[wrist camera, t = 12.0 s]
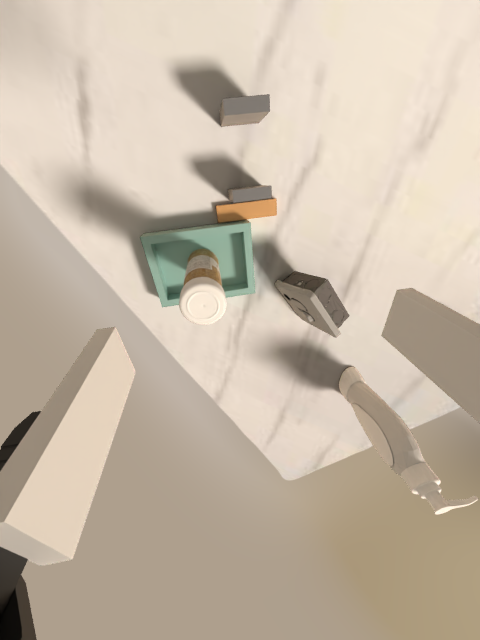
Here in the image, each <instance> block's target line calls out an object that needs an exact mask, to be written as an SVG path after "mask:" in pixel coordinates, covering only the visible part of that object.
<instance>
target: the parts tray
mask: <svg viewBox="0 0 480 640" xmlns="http://www.w3.org/2000/svg"><path fill="white" fill-rule="evenodd" d="M140 239H141V242H142V245H143V248H144V251H145V255H146V258H147V261H148V264H149V267H150V270H151V273H152V276H153V280H154V283H155V286H156V289H157V292H158V295H159V298H160V301H161V304H162V307H168V306H174V305H179V299H180V293H181V290H182V288H183V286H184V278H185V273H186V269H187V262H188V258H189V256H190V254H191V253H192V252H193V251H195V250H198V249H207V250H210V251H211V252H213V253H214V254H215V255H216V257H217V259H218V262H219V270H220V275H221V282H222V288H223V290H224V292H225V296H226V298H227V297H233V296H240V295H246V294H253V293H255V281H254V267H253V252H252V238H251V223H250V222H249V221H248V220H243V221H235V222H227V223H220V224H212V225H204V226H197V227H189V228H181V229H174V230H166V231H158V232H151V233H144V234H143V235H142V236H141V237H140Z"/></svg>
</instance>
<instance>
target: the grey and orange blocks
mask: <svg viewBox="0 0 480 640" xmlns="http://www.w3.org/2000/svg"><path fill="white" fill-rule="evenodd" d="M269 112H270V98H269V94H267V95H257V96H246V97H235V98H224V99H223V100H222V104H221V108H220V112H219V114H220V123H221V127H223V126H233V125H243V124H253V123H259V122H260V121H261V120H262V119H263V118H264V117H265V116H266V115H267V114H268V113H269ZM228 195H229V200H230V201H231V202H233V203H235V204H226V205H218V206H216V210H217V217H218V223H221V222H228V221H236V220H244V219H251V218H259V217H267V216H275V215H277V203H276V199H268V198H272V190H271V186H265V185H260V186H252V187H243V188H235V189H228ZM260 199H267V200H260ZM252 200H259V201H252ZM244 201H251V202H244ZM236 202H243V203H236Z"/></svg>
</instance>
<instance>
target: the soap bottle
mask: <svg viewBox="0 0 480 640" xmlns="http://www.w3.org/2000/svg"><path fill="white" fill-rule="evenodd" d="M339 389H340V392H341V393H342V395H343V396H344V398H345V399H346V400H347V401H348V402H349V403H351V405H352V407H353V409H354V412H355V414H356V416H357V418H358V420H359V422H360V424H361V426H362V427H363V429H364V431H365V433H366V434H367V436H368V438H369V440H370V441H371V443H372V445H373V446H374V448H375V449H376V451H377V452H378V453H379V455H380V456H381V458H382V459H383V460H384V461H385V462H386V463H387V464H388V465H389V466H390V467H391V468H392V469H393V470H394V471H395V473H396V474H398V475H400V476H401V477H402V478H403V480H404V481H405V483H406V484H407V486H408V487H409V489H410V490H411V491H412V493H414V494H419V495H420V497H421V498H424V499H427V501H428V502H429V503H430V505H431V506H432V508H433V509H434V511H435V512H434V513H435V514H441V513H445V512H447V511H449V510H450V509H453V508H458V507H463V506H468V505H470V504H472V503H473V502H475V501H477V500H478V498H477V497H476V496H473V497H471V498H468V499H465V500H447V501H446V500H445V499H444V497H443V496H442V495H441V494H440V492H441V488H440V487H439V486H438V485H439V484H440V482H441V481H440V479H439V478H438V477H437V476H436V474H435V473H434V472H433V471H432V469H431V468H430V467H429V466H428V465H427V464H426V462H425V460H424V458H423V456H422V453H421V451H420V447H419V445H418V443H417V441H416V439H415V437H414V436H413V434H412V432H411V431H410V430H409V428H408V427H407V425H406V424H405V423H404V421H403V420H402V419H401V418H400V417H399V416H398V414H397V413H396V412H395V411H394V410H393V409H391V408H390V407H389V406H388V405H387V403H386V402H385V401H383V400H382V399H381V398H380V397H379V396H378V395H377V394H376V393H375V392H374V391H373V390H372V389H371V388H370V387H369V386H368V385H367V384H366V383H365V381H364V379H363V377H362V376H361V374H360V373H359V371H358V370H357V369H356V368H354V367H349V368H347V369H346V370H345V371H344V372H343V373H342V375H341V378H340V381H339Z"/></svg>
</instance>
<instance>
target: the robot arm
mask: <svg viewBox="0 0 480 640" xmlns="http://www.w3.org/2000/svg"><path fill="white" fill-rule="evenodd" d="M381 336H382V337H384V338H385V339H386V340H387V341H388V342H389V343H390V344H391V345H392V346H394V347H395V348H396V349H397V350H398V351H399V352H400V353H401V354H403V355H404V356H405V357H406V358H407V359H408V360H409V361H410V362H411V363H413V364H414V365H415V366H416V367H417V368H418V369H419V370H420V371H422V372H423V373H424V374H425V375H426V376H427V377H428V378H429V379H430V380H432V381H433V382H434V383H435V384H436V385H437V386H438V387H439V388H441V389H442V390H443V391H444V392H445V393H446V394H447V395H448V396H449V397H451V398H452V399H453V400H454V401H455V402H456V403H457V404H458V405H460V406H461V407H462V408H463V409H464V410H465V411H466V412H467V413H468V414H470V415H471V416H472V417H473V418H474V419H475V420H476V421H478V422H479V423H480V324H478V323H476V322H474V321H472V320H470V319H469V318H467V317H465V316H463V315H461V314H459V313H457V312H456V311H454V310H452V309H450V308H448V307H446V306H444V305H443V304H441V303H439V302H437V301H435V300H433V299H431V298H430V297H428V296H426V295H424V294H422V293H420V292H418V291H417V290H415V289H413V288H408V289H400V290H397V291H396V294H395V297H394V300H393V303H392V306H391V309H390V312H389V315H388V318H387V321H386V324H385V327H384V330H383V332H382V335H381ZM135 373H136V372H135V369H134V367H133V365H132V363H131V360H130V358H129V356H128V354H127V352H126V349H125V347H124V345H123V343H122V340H121V338H120V336H119V334H118V331H117V329H116V327H111V328H103V329H97V330H96V332H95V333H94V335H93V336H92V338H91V339H90V341H89V342H88V344H87V345H86V346H85V348H84V349H83V351H82V352H81V354H80V355H79V357H78V358H77V360H76V361H75V363H74V364H73V366H72V367H71V369H70V370H69V372H68V373H67V374H66V376H65V377H64V379H63V380H62V382H61V383H60V385H59V386H58V388H57V389H56V391H55V392H54V393H53V395H52V396H51V398H50V399H49V401H48V402H47V404H46V405H45V407H44V408H43V410H42V411H38V412H32V413H31V414H30V415H29V416H28V417H27V418H26V419H24V420H23V421H22V422H21V423H20V424H19V425H18V426H17V427H16V428H14V430H13V431H12V432H11V434H10V435H9V436H8V438H7V439H6V441H5V442H4V443H3V444H2V446H1V450H0V640H36V634H35V629H34V624H33V619H32V614H31V608H30V603H29V598H28V592H27V587H26V583H25V581H24V579H23V578H22V576H21V573H22V571H23V569H24V566H25V565H26V562H27V560H28V561H31V562H33V563H35V564H38V565H40V566H43V565H48V564H53V563H58V562H62V561H66V560H72V559H73V556H74V553H75V550H76V547H77V544H78V541H79V538H80V535H81V533H82V529H83V526H84V524H85V521H86V518H87V515H88V512H89V509H90V506H91V503H92V500H93V497H94V494H95V491H96V488H97V485H98V482H99V479H100V476H101V473H102V470H103V467H104V464H105V461H106V459H107V456H108V452H109V450H110V447H111V443H112V441H113V438H114V435H115V432H116V429H117V426H118V423H119V420H120V417H121V414H122V411H123V408H124V405H125V402H126V399H127V396H128V393H129V390H130V387H131V385H132V382H133V379H134V376H135Z"/></svg>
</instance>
